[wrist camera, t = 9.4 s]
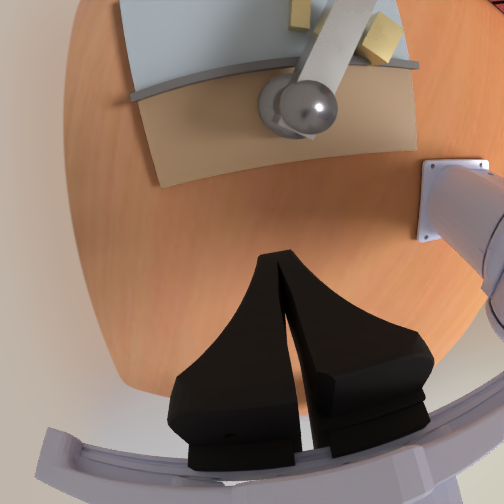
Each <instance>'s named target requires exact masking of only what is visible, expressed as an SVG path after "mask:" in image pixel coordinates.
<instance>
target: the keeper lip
mask: <svg viewBox="0 0 504 504" xmlns="http://www.w3.org/2000/svg"><path fill="white" fill-rule="evenodd" d="M310 13H311V0H290V1H289V16H288V30H289V31H296V32H302V33H306V32H307V31H308V30H309V29H310Z"/></svg>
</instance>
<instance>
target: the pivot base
mask: <svg viewBox="0 0 504 504" xmlns="http://www.w3.org/2000/svg"><path fill="white" fill-rule="evenodd" d="M291 76H292V73H285V74H282V75H279V76H277V77H275V78H273V79H272V80H270V81H269V82H268V83H267V84H266V85H265V86H264V87H263V88H262V90H261V92H260V94H259V97H258V102H257V107H258V112H259V116H260V118H261V120H262V121H263V123H264V124H265V125H266V126H267V127H268V128H269V129H270V130H271V131H272V132H274V133H275V134H277V135H279V136H281V137H284V138H287V139H295V140H296V139H304V138H307V137H305V136H303V135H300V134H298V133H296V132H294V131H291V130H289V129H287V128H284V127H282V126H280V125H277V124H276V123H274V122H272V121H271V120H272V118H273V115H274V111H273V99H274V97H275V95H276V93H277V92H278V91H279V90H280V89H281V88H283V87H285V86H287V84H288V82H289V80H290V78H291Z"/></svg>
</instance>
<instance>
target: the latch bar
mask: <svg viewBox="0 0 504 504" xmlns="http://www.w3.org/2000/svg"><path fill="white" fill-rule="evenodd" d="M376 2H377V0H328V1H327V3H326V5H325V7H324V9H323V11H322V13H321V15H320V17H319V19H318V21H317V23H316V25H315V27H314V29H313V31H312V33H311V35H310V37H309V40H308V42H307V44H306V46H305V48H304V50H303V52H302V54H301V56H300V58H299V60H298V63H297V65H296V67H295V69H294V71H293V73H292V76H291V78H290V80H289V82H288V84H287V86H285V87H283V88H281V89H280V90H279V91H278V92H277V93H276V95H275V97H274V99H273V111H274V115H273V118H272V120H271V121H272V122H274V123H276V124H277V125H280V126H282V127H284V128H287V129H289V130H291V131H294V132H296V133H298V134H300V135H303V136H305V137H307V138H309V139H311V140H314V138H315V136H316V134H319V133H322V132H324V131H326V130H327V129H328V128H330V127H331V126H332V124H333V123H334V121H335V120H336V117H337V113H338V105H337V100H336V98H335V96H334V95H335V92H336V90H337V88H338V86H339V84H340V82H341V79H342V77H343V75H344V73H345V71H346V69H347V66H348V64H349V62H350V60H351V58H352V55H353V53H354V51H355V49H356V47H357V44H358V42H359V40H360V38H361V36H362V33H363V31H364V29H365V27H366V24H367V22H368V20H369V18H370V16H371V13H372V11H373V9H374V7H375V4H376Z"/></svg>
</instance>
